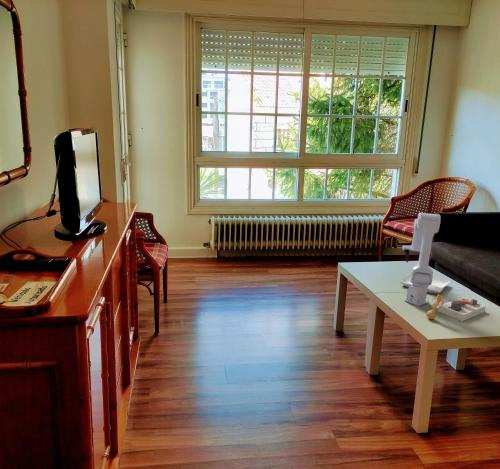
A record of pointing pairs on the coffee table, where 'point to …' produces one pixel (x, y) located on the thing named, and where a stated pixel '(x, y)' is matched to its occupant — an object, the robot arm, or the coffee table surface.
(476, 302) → the slider
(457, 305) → the button
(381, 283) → the coffee table surface
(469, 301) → the plate
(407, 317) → the coffee table surface
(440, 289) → the salad plate
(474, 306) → the panel
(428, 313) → the figurine
